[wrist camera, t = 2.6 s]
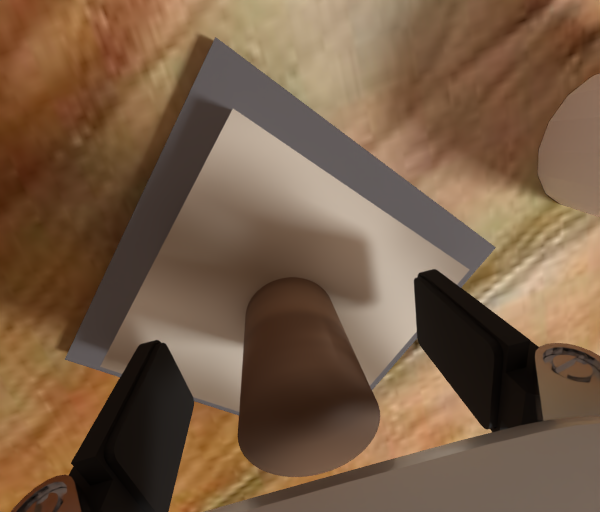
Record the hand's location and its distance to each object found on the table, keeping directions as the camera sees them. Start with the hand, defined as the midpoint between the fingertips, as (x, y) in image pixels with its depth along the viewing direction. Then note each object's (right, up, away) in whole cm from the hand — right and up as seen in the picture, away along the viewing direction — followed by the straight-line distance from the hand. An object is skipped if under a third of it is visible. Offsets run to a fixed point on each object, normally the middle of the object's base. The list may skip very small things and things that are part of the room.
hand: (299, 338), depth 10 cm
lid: (-1, +1, +3) cm, 3 cm away
